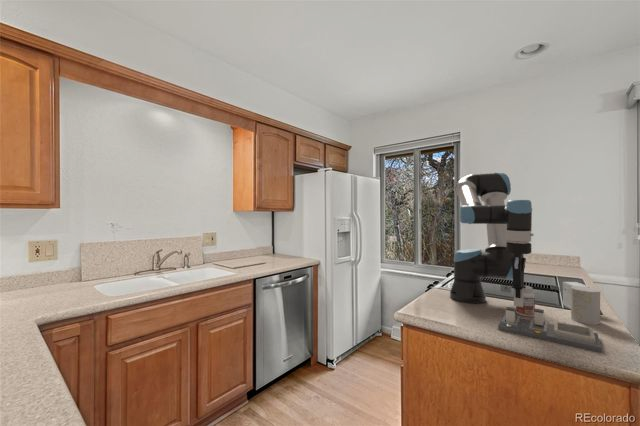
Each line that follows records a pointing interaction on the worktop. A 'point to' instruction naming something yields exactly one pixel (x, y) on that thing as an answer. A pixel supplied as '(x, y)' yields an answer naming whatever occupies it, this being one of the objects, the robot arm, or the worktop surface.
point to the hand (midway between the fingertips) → (518, 305)
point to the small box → (569, 292)
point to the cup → (585, 305)
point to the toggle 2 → (539, 317)
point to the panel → (554, 332)
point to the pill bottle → (527, 303)
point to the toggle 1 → (510, 315)
